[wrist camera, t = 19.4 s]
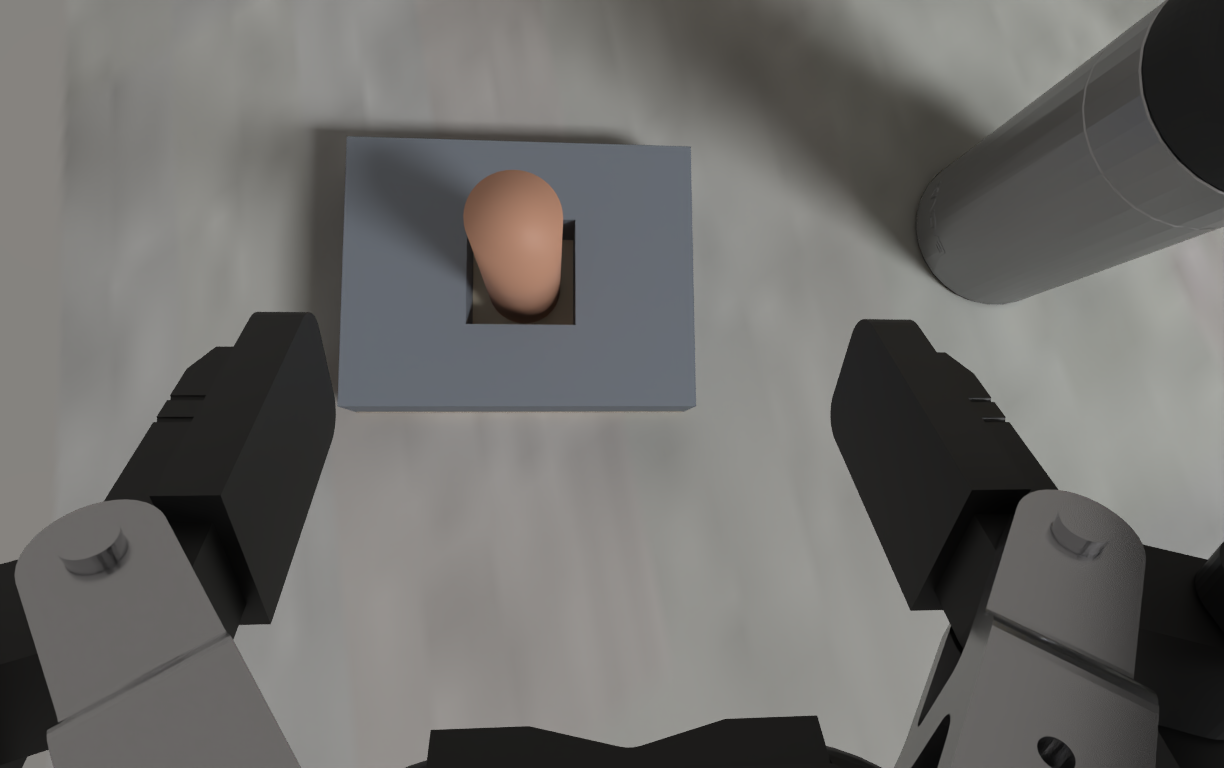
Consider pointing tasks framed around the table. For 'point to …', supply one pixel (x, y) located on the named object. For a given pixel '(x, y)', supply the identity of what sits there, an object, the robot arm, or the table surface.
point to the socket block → (459, 301)
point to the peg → (517, 242)
